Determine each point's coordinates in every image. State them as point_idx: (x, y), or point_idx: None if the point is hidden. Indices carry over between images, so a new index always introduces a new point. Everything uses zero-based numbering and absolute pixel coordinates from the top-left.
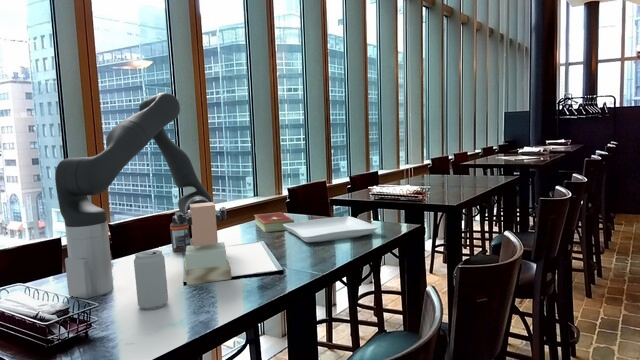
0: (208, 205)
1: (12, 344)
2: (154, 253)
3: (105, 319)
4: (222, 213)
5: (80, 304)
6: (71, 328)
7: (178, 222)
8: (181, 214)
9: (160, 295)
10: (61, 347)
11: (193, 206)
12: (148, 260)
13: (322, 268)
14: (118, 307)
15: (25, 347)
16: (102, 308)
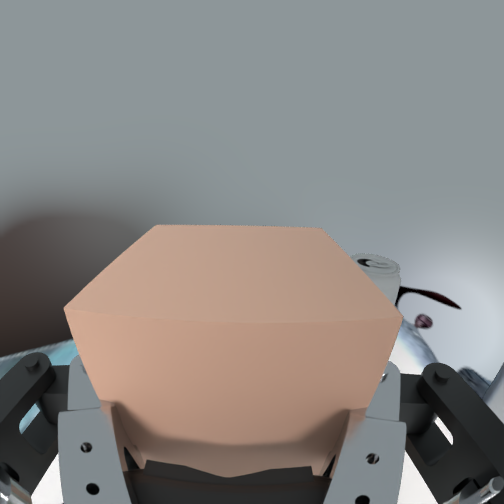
0: (196, 227)
1: (451, 302)
2: (374, 282)
3: (401, 329)
4: (59, 371)
5: (478, 376)
6: (424, 317)
7: (435, 430)
8: (434, 375)
9: None
10: (400, 291)
11: (310, 237)
12: (362, 260)
13: (4, 371)
14: (409, 359)
15: (434, 297)
16: (433, 359)
